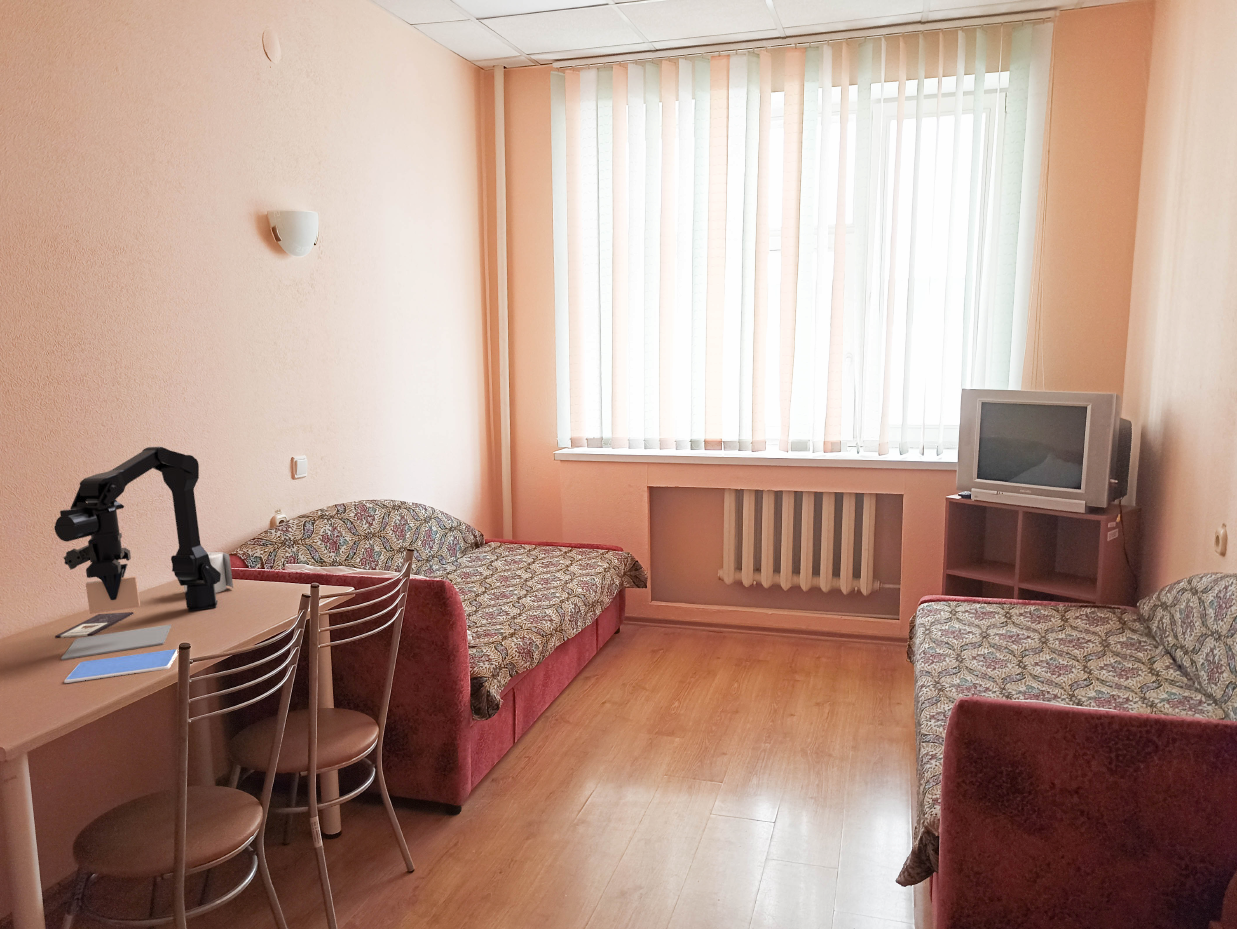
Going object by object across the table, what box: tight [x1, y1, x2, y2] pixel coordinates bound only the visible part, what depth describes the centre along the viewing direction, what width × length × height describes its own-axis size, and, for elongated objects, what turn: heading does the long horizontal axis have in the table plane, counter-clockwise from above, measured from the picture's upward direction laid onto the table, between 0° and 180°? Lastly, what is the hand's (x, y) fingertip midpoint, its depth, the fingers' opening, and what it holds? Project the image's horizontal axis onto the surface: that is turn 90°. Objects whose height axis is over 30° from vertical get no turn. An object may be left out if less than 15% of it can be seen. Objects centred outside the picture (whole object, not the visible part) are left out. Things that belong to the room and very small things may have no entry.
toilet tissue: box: [183, 551, 234, 594], centre depth 252 cm, size 11×12×10 cm
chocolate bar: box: [54, 611, 135, 639], centre depth 224 cm, size 9×1×18 cm
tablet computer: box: [63, 649, 178, 684], centre depth 189 cm, size 19×13×1 cm, turn 107°
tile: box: [85, 575, 141, 615], centre depth 207 cm, size 10×2×7 cm, turn 110°
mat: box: [60, 624, 172, 661], centre depth 208 cm, size 20×16×1 cm
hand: (114, 598), depth 207 cm, fingers closed on tile, 2 cm apart
